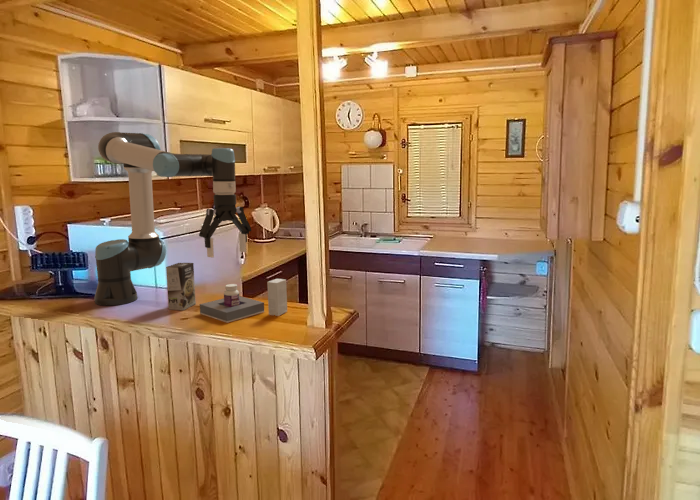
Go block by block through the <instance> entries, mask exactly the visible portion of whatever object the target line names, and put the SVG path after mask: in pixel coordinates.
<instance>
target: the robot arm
mask: <svg viewBox="0 0 700 500" xmlns="http://www.w3.org/2000/svg"><path fill="white" fill-rule="evenodd" d="M97 149H98V153H99V155H100V156H101V158H103V159H104V161H106V162H108V163H113V164H118V165H120V164H123V169H124V170H125V171H126V172H127V174H128V177H127V178H128V191H129V205H130V221H131V222H130V223H131V224H130V225H131V233H130V234H129V235H128V240H127V239H123V238H122V239H112V240H108V241H103V242H101V243H98V245H96V247H95V250H94V251H95V254H94V258H95V264H96V265H95V266H96V274H97V286H96V290H95V294H94V298H93V299H94V304H95V305H99V306H118V305H125V304H129V303H132V302H134V301H136V300H138V293H137V289H136V288H135V286H134V284H133V281H132V276H131V272H134V271H140V270H144V269H153V268H155V267H158V266H160V265H162V263H163V262H164V261H165V259H166V255H167V246H166V244H165V242H164V240H163V239H161V238H160V234H159V233H157V232H156V231H155V230H156V229H155V228H156V227H155V211H154V195H153V177H152V176H153V175H152V173H153V172H154V173H156V175H158V176H159V177H162V178H163V177H164V178H165V177H166V178H172V177H173V178H174V177H212V192H213V194H214V195H213V204H214V209H213V208H207V209H206V212H205V217H204V220H203V222H202V226H201V228H200V231H199V233H198V236H199V237H200V238H203V239H204V247H205V248H206V253H207V254H206V255H207V258H215V256H214V253H215V252H214V238H213V237H212V236H213V235H214V233H215V232H216V231H217V228H218V227H219V226H220V224H221V223H222V222H226V221H229V222H230V221H231V223H233V225H234V226H235V227H236V228H237V230H239V232H240V233H238V239H239V240H238V241H239V252H241V253H247V245H246V244H247V242H248V235H249V234H250V232H252V227H251V225H250V223H249V221H248V218H247V216H246V214H245V210H244V207H243V206H236V205H237V195H236V194H235V193H236V192H237V189H236V187H237V186H236V158H235V156H236V155H235V151H234V149H232V148H229V147H227V148H224V147H222V148H221V147H217V148H216V147H215V148H212V149H211V154H210V153H209V154H204V153H203V154H202V153H172V152H169V151H164V150H162V149H161V146H160V143H159V141H158V139H156V137H154V136H153V135H152V134H148V133H143V132H139V133H138V132H137V133H136V132H120V131H115V132H114V131H113V132H109V133H106V134H105V135H102V137H101V138H100V139H99V142H98V148H97ZM236 213H237V215H236ZM214 215H215V216H214Z"/></svg>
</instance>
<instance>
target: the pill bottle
mask: <svg viewBox="0 0 700 500" xmlns="http://www.w3.org/2000/svg"><path fill="white" fill-rule="evenodd" d="M239 296H240V291H239V290H238V284H236V283H230V284H226V285H225V291H224V292H223V298H224V306H226V307H234V306H237V305H240V301H239Z"/></svg>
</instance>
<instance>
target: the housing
mask: <svg viewBox="0 0 700 500" xmlns="http://www.w3.org/2000/svg"><path fill="white" fill-rule="evenodd" d="M239 301H240V305H237V306H234V307H226V306H224V297H223V298H219V299H215V300H212V301H208V302H207V301H206V302H203V303H200V304H199V314H200V315H203V316H206V317H209V318H212V319H215V320H218V321H221V322H224V323H230V322H234V321H239V320H241V319H245V318H249V317H252V316H255V315H258V314H262V313H265V302H264V301H260V300H256V299H252V298H249V297H244V296H242V295H239Z"/></svg>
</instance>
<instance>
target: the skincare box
mask: <svg viewBox="0 0 700 500" xmlns="http://www.w3.org/2000/svg"><path fill="white" fill-rule="evenodd" d="M287 294H288V293H287V279H284V278H275V279H272V280H269V281H267V302H268V303H267V304H268V306H267V308H268V309H267V310H268V315H269V316H274V315H275V316H276V317H280V316H281V315H283V314H285V313H287V312H288V296H287Z"/></svg>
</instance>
